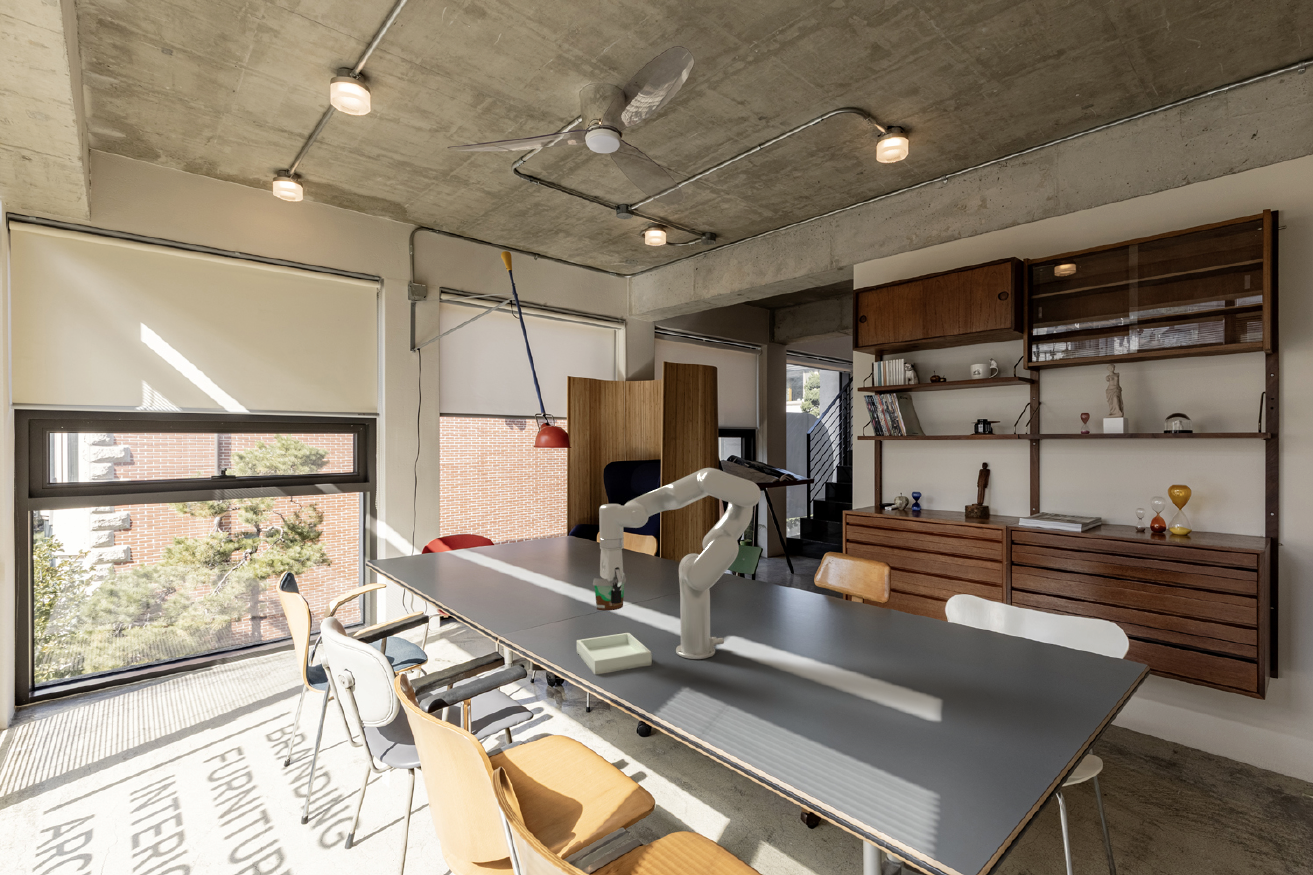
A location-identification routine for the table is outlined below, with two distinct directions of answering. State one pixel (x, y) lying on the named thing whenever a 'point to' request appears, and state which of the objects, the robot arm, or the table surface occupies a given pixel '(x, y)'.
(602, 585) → the food container
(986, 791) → the table surface
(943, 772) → the table surface
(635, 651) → the tray
